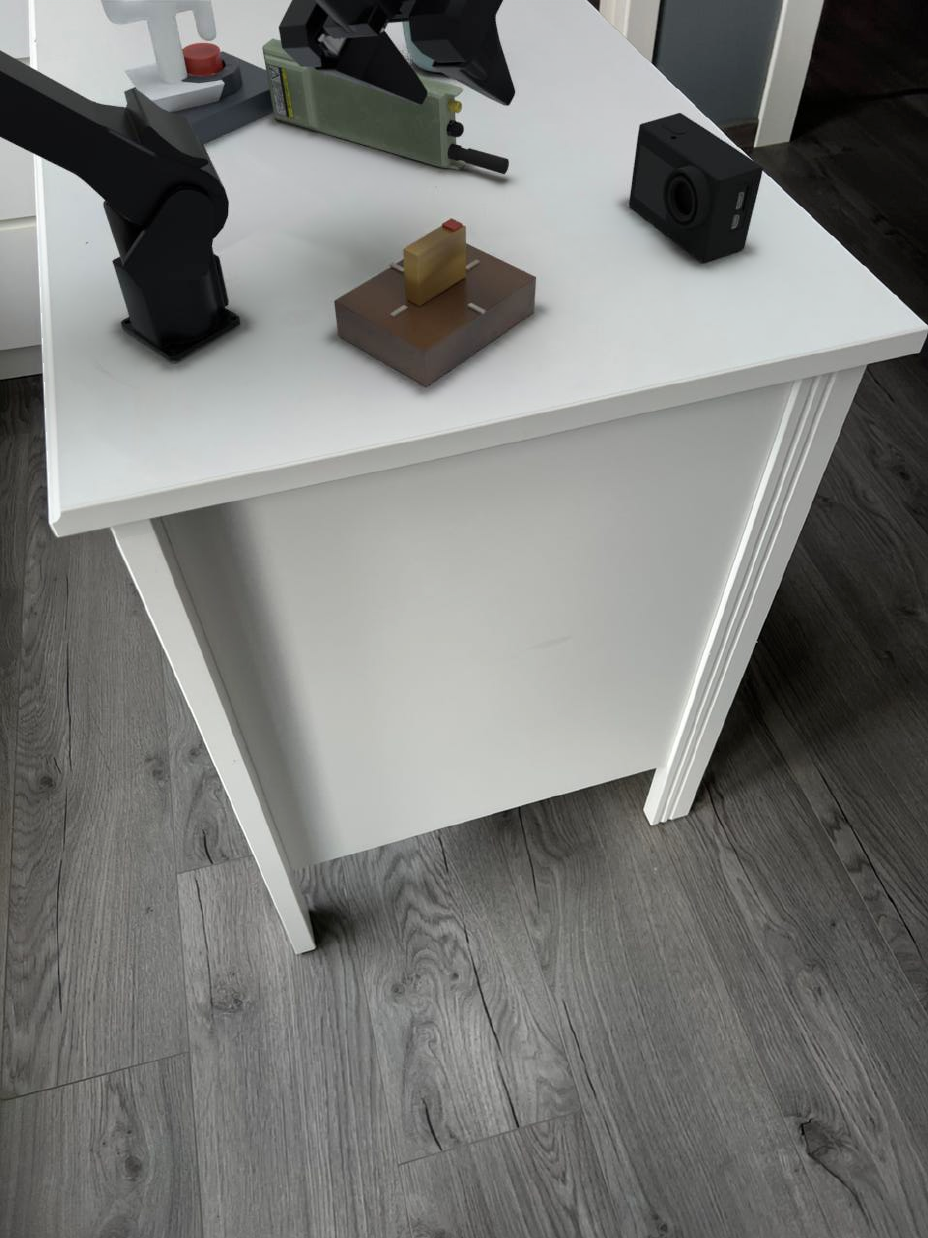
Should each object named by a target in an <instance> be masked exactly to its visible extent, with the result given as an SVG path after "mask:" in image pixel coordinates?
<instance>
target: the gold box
mask: <svg viewBox="0 0 928 1238" xmlns="http://www.w3.org/2000/svg"><path fill="white" fill-rule="evenodd" d="M466 243H467V227H466V226H465V225H464V223H462V222H460V221H458V220H456V219H454V218H452V217H451V218H449V219H447V220H445V221H444V222H442V223H441V225H440V226H438V227H437V228H435V229H433V230H432V231H430V232H428V233H427V234H425V235H423V236H422V237H420V238H418V239H417V240H415V241H413V242H412V243H410V244H409V245H408V244H407V246H405V247H403V248H402V255H403V259H404V276H405V293H406V299H407V300H409V301H410V302H412V303H414V304H416V305H418V306H421V305H423V304H424V303H426V302H427V301H429V300H430V299H432V298H433V297H435V296H437V295H438V294H440V293H441V292H443V291H444V290H446V289H448V288H449V287H451V286H452V285H454V284H455V283H457V282H459V281H460V280H462V279H463V278H465V277H466Z"/></svg>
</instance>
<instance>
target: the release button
mask: <svg viewBox="0 0 928 1238" xmlns="http://www.w3.org/2000/svg"><path fill="white" fill-rule="evenodd" d="M182 52H183V56H184V61H185V66H186V71H187V73H188V74H191V75H195V76H205V75H211V74H214V73H218V72H220V71H222V70H223V63H222V58H221V52H222V51H221V48H220V47H219V46H218V45H217V44H214V43H211V42H195V43H191V44H188V45H186V46H184V47H183V48H182Z"/></svg>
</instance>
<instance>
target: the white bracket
mask: <svg viewBox="0 0 928 1238" xmlns="http://www.w3.org/2000/svg"><path fill="white" fill-rule="evenodd" d="M100 2H101V6H102V8H103V9H102V10H103V11H104V13H105V15H106V17H107V19H108V20H109V22H111V23H112V24H114V25H117V26H119V25H121V26H123V25H126V24H127V25H128V24H132V23H137V22H143V21H146V24H147V29H148V32H149V33H148V34H149V37H150V42H151V45H152V50H153V55H154V59H155V62H156V63H152V64H147V65H143V66H138V67H134V68H130V69H129V68H128V69H125V70H123V72H124V73H125V75H126V76H127V77H128V79H129V80H130V82H131V84H132V85H133V86H134V87H136V89H137V90H138V91H140V92H141V93H143V94H144V95H145V96H146V97H148V98H149V99H150V100H151V101H153V102H154V103H155V104H156V105H158V106H159V107H160V108H162V109H164V110H166V111H169V112H175V111H179V110H183V109H187V108H191V107H196V106H200V105H204V104H208V103H212V102H216V101H219V99H220V96H221V93H222V90H223V87H224V84H225V83H224V82H223V81H222V80H218V81H212V82H205V83H191V82H182V81H181V80H183V79H185V78H187V74H188V73H187V71H186V66H185V61H184V56H183V52H182V49H183V48H182V42H181V38H180V33H179V28H178V24H177V18H176V16H177V14H180V13H185V12H189V11H192V14H193V19H194V22H195V27H196V32H197V35H198V36H199V37H200V38H201V39H202V40H203V41H207V42H212V41H214V40H215V39H216V38H217V27H216V21H215V15H214V10H213V4H212V0H100ZM214 74H215V73H214ZM188 75H191V74H188ZM211 75H212V74H211ZM194 76H195V75H194Z"/></svg>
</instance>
